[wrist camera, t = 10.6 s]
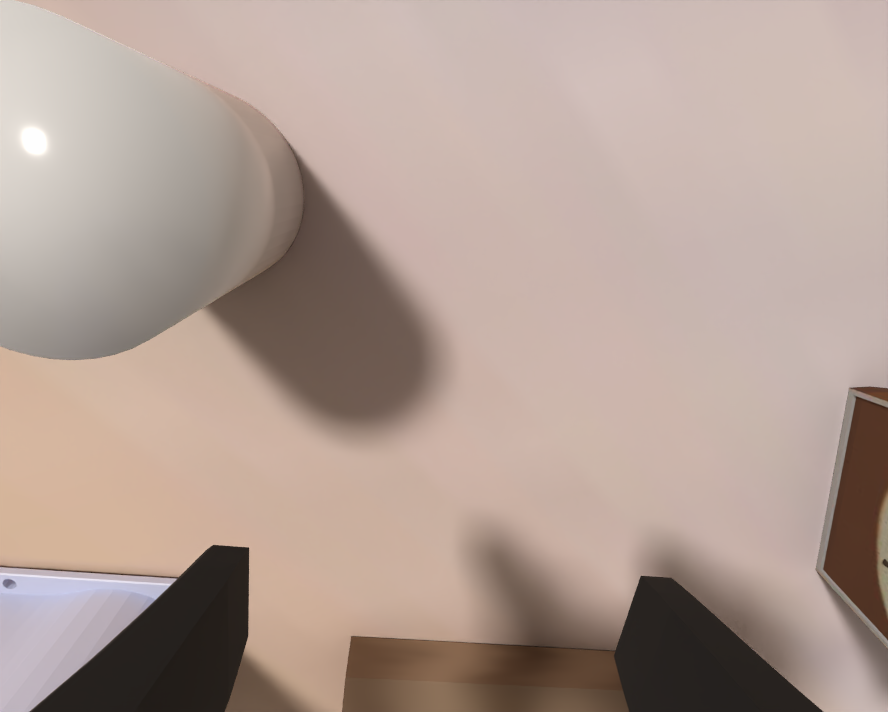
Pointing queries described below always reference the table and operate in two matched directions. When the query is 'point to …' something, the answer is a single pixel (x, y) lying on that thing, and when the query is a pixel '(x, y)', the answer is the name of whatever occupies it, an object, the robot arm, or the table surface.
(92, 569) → the table surface
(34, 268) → the white rounded canister
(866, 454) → the food container
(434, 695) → the walnut stand
